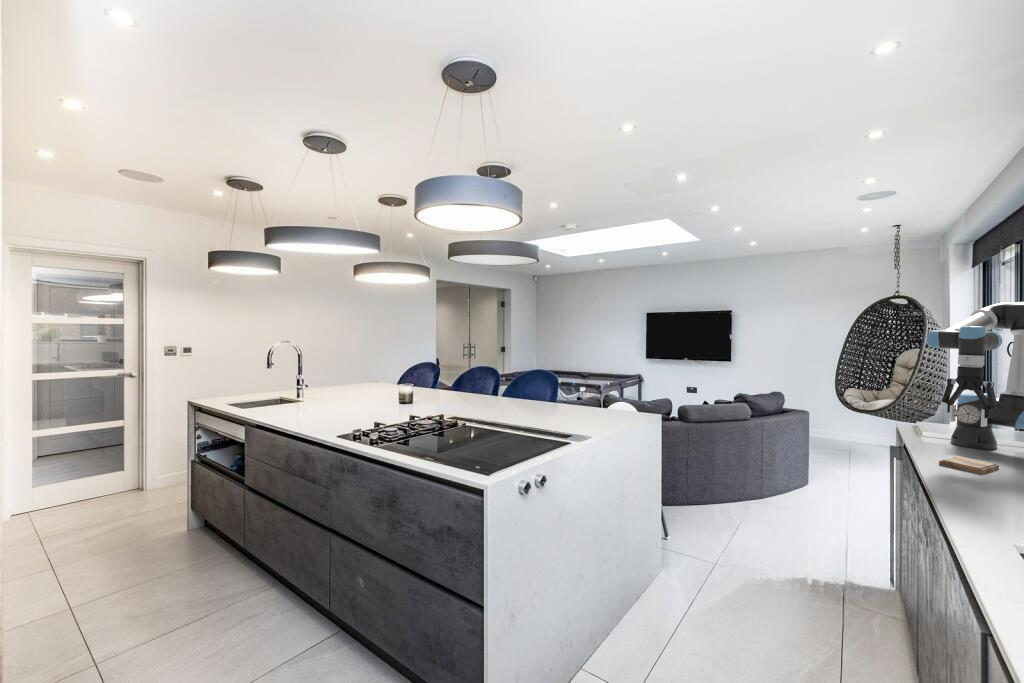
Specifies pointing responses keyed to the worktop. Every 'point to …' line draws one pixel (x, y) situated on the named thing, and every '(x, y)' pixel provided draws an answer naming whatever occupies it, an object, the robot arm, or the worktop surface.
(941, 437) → the worktop surface
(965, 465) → the plate
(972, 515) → the worktop surface
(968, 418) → the game die
